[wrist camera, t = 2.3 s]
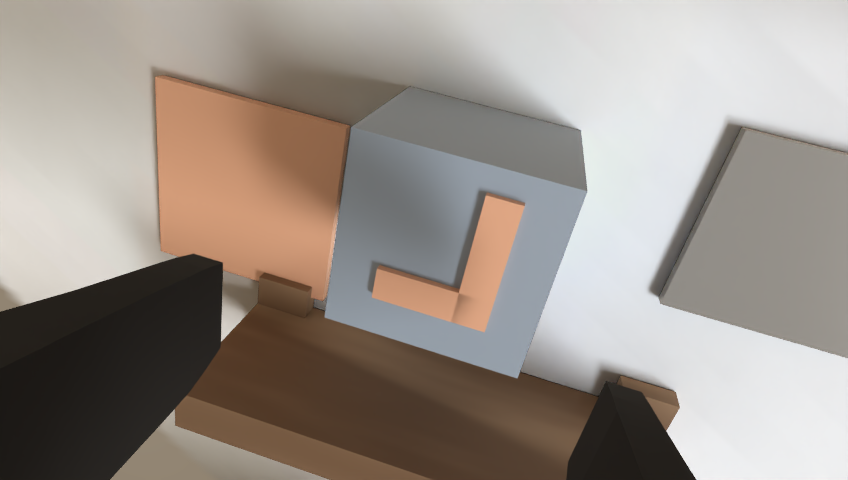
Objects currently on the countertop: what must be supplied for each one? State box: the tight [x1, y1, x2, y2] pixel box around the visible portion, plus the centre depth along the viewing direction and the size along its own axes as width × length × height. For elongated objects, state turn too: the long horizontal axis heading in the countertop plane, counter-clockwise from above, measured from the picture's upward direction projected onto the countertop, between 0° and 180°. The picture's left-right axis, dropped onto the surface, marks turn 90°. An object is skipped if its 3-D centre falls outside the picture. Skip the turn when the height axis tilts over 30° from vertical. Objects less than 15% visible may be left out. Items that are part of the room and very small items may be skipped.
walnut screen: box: [175, 272, 680, 480], centre depth 19 cm, size 4×16×6 cm, turn 78°
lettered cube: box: [325, 86, 587, 379], centre depth 16 cm, size 6×6×6 cm
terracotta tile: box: [155, 75, 350, 301], centre depth 20 cm, size 7×7×1 cm
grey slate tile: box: [659, 127, 848, 358], centre depth 16 cm, size 6×6×1 cm
